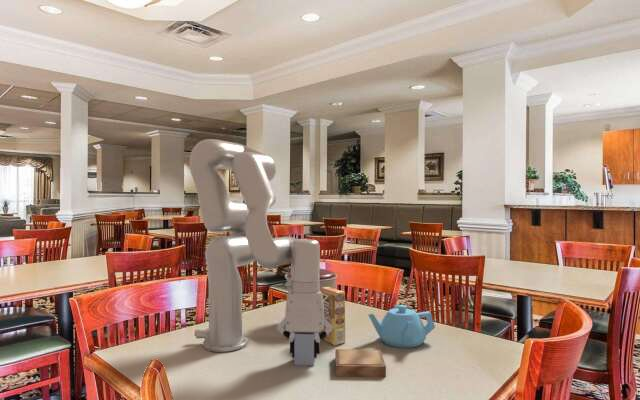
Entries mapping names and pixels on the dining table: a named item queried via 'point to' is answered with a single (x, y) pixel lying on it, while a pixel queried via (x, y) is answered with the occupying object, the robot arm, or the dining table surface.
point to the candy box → (334, 314)
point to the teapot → (403, 327)
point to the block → (304, 349)
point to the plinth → (360, 363)
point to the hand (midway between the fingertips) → (304, 355)
